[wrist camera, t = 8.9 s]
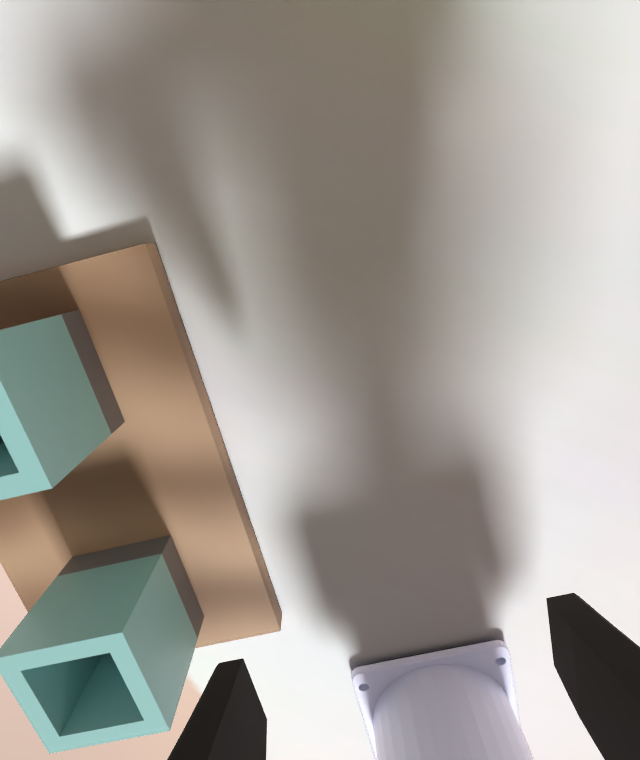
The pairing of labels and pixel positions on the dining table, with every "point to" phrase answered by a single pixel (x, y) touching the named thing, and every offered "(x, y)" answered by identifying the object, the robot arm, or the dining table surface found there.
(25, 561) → the pin board
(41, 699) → the seated sleeve
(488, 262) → the dining table surface
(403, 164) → the dining table surface
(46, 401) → the sleeve
